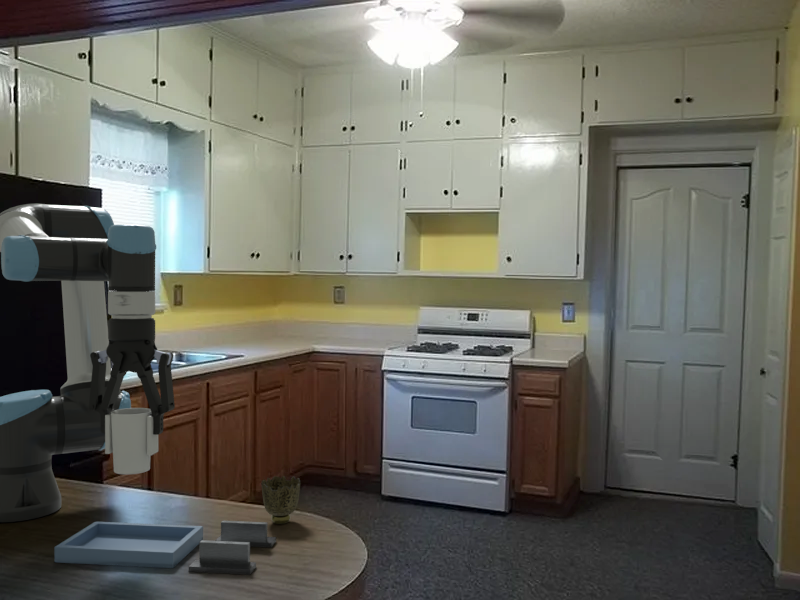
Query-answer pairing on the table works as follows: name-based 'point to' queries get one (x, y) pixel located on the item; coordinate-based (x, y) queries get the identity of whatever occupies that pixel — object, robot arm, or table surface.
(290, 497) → the cup
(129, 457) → the white tumbler
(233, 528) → the bracket
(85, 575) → the table surface
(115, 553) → the tray
